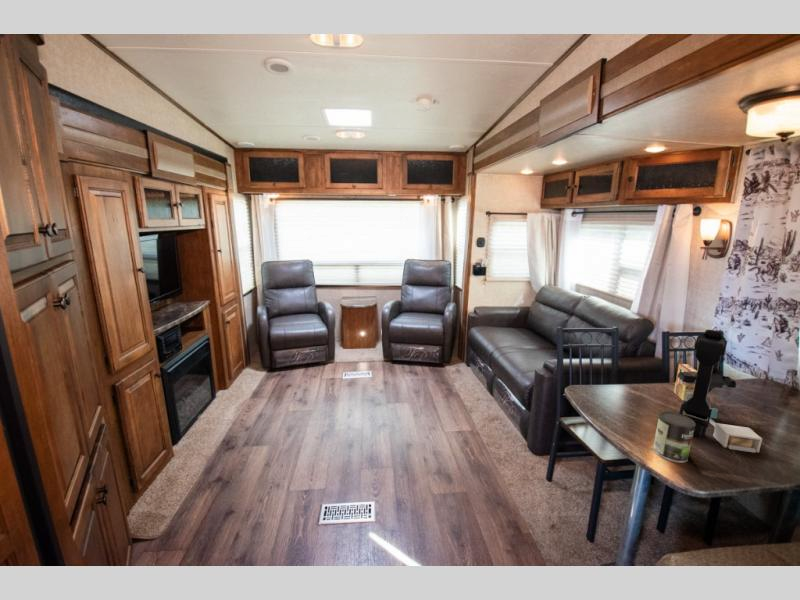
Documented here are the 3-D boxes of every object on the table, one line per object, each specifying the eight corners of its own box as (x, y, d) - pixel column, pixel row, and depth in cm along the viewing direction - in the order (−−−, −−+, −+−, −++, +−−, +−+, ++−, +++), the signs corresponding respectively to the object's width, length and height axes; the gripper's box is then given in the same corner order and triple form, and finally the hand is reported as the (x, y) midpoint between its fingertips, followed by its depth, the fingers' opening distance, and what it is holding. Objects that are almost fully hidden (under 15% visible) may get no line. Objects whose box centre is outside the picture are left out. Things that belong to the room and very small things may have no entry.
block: (730, 447, 125) (732, 437, 125) (720, 437, 131) (722, 428, 130) (750, 450, 124) (752, 440, 123) (739, 440, 129) (742, 430, 129)
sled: (729, 450, 125) (731, 438, 124) (695, 416, 147) (697, 406, 146) (754, 454, 123) (758, 442, 122) (716, 419, 145) (718, 408, 144)
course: (738, 465, 118) (742, 447, 116) (700, 426, 140) (704, 412, 139) (775, 471, 115) (780, 453, 114) (731, 431, 137) (734, 416, 136)
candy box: (692, 402, 160) (699, 371, 157) (682, 400, 161) (688, 370, 158) (682, 393, 168) (688, 364, 165) (672, 392, 169) (678, 363, 166)
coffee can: (694, 458, 121) (702, 423, 118) (677, 466, 117) (684, 429, 114) (663, 441, 131) (669, 408, 127) (646, 448, 127) (652, 414, 123)
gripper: (693, 369, 141) (686, 403, 144) (749, 374, 135) (740, 410, 139) (680, 359, 151) (674, 391, 154) (731, 364, 146) (724, 397, 149)
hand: (702, 397), depth 149 cm, fingers closed
